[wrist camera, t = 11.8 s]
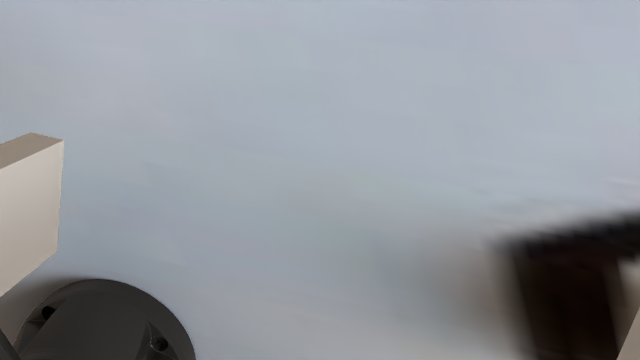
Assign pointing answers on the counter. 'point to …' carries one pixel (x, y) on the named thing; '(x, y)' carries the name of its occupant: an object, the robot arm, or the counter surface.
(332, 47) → the counter surface
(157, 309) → the robot arm
